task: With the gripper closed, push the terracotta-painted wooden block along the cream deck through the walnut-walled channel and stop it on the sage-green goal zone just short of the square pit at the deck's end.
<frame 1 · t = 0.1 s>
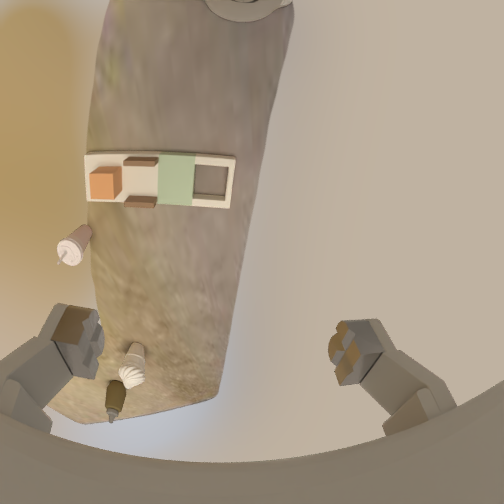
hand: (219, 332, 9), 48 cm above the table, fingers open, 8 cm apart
smoothie: (85, 231, 56), on the table
soft serve ice cream cone: (137, 346, 78), on the table
squeeze bottle: (118, 383, 89), on the table
block: (110, 178, 48), point 3 cm above the table, touching deck
deck: (156, 175, 52), on the table
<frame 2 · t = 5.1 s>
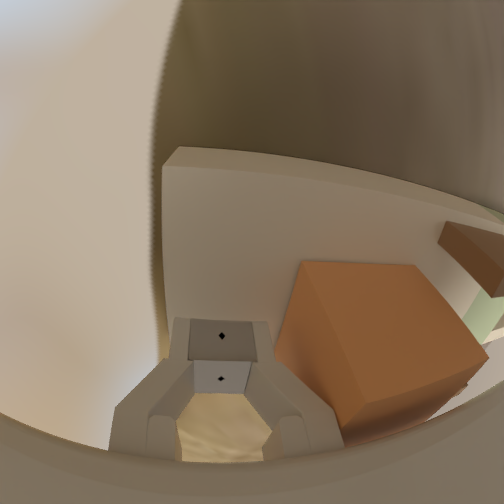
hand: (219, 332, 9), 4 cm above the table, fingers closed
block: (344, 315, 10), point 3 cm above the table, touching gripper
deck: (436, 273, 14), on the table
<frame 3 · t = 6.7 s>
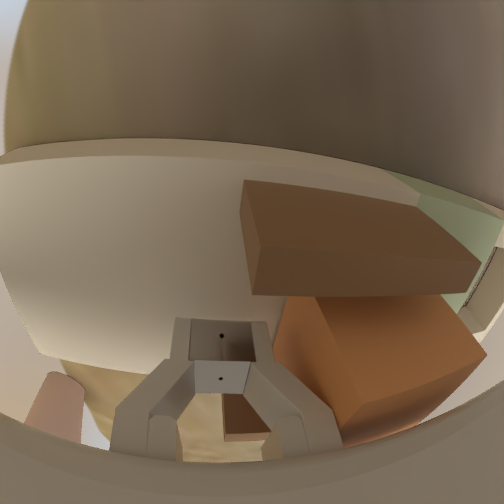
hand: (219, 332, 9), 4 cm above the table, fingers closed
smoothie: (66, 382, 17), on the table
block: (341, 314, 10), point 3 cm above the table, touching gripper
deck: (330, 264, 13), on the table
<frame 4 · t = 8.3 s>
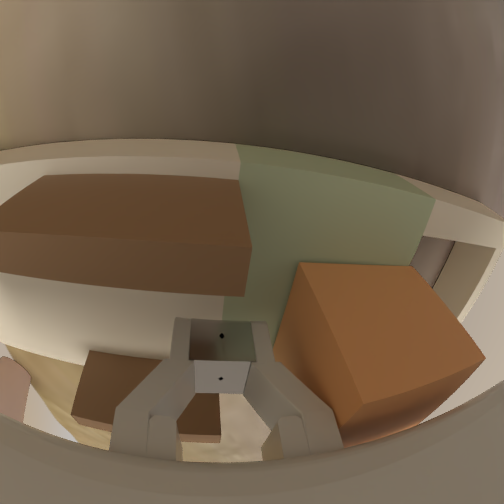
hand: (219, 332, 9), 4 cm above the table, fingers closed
smoothie: (16, 367, 16), on the table
block: (341, 316, 10), point 3 cm above the table, touching deck, gripper
deck: (198, 257, 12), on the table
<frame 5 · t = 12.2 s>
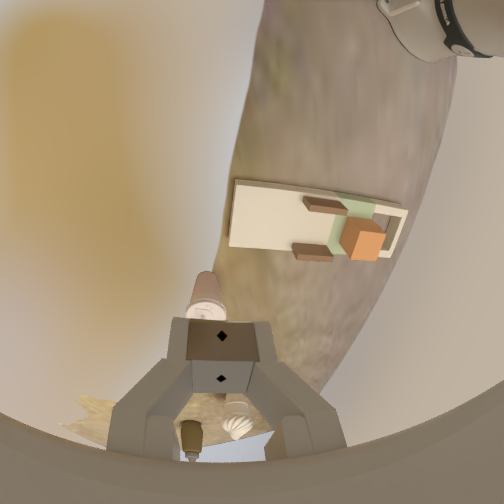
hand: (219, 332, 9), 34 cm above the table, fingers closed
smoothie: (207, 278, 50), on the table
soft serve ice cream cone: (234, 389, 72), on the table
squeeze bottle: (191, 422, 83), on the table
block: (355, 231, 44), point 3 cm above the table, touching deck
deck: (320, 218, 45), on the table
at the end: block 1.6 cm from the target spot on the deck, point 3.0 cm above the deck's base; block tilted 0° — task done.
